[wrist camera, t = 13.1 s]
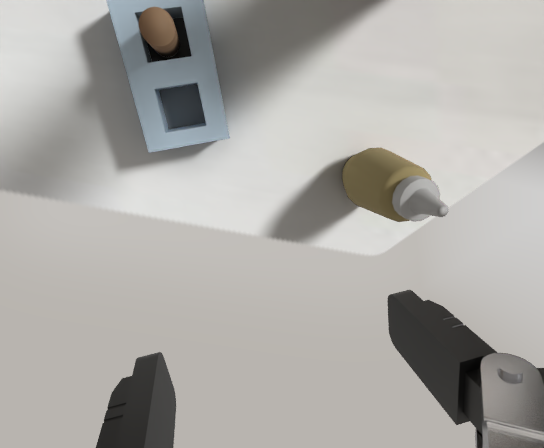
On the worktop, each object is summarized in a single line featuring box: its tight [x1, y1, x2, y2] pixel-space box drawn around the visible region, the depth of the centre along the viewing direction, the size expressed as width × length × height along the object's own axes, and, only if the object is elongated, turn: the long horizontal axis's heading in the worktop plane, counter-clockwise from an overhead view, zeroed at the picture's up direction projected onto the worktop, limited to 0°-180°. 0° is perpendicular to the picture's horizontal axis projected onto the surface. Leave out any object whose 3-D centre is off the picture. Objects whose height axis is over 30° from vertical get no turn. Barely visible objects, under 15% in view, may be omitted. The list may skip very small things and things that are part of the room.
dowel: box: [139, 7, 180, 57], centre depth 35 cm, size 3×3×10 cm
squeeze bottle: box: [342, 148, 448, 222], centre depth 42 cm, size 8×8×18 cm
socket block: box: [107, 0, 230, 153], centre depth 39 cm, size 9×15×5 cm, turn 9°
